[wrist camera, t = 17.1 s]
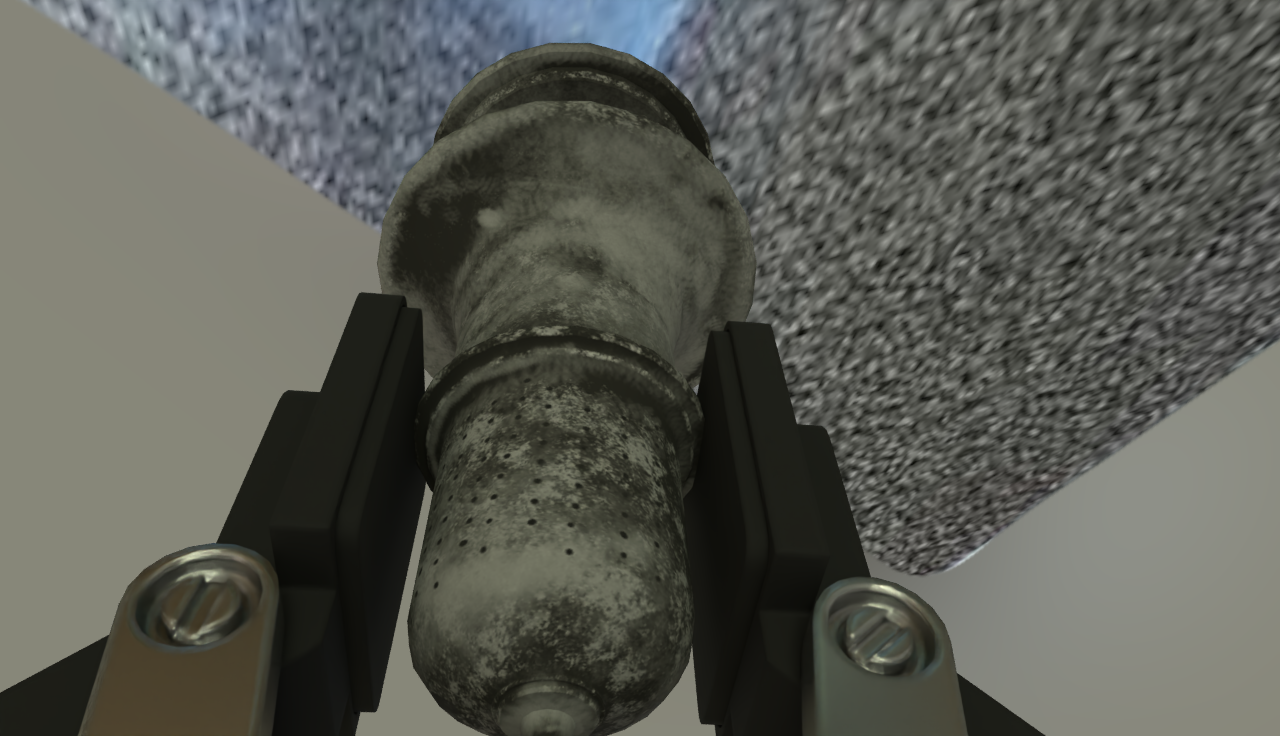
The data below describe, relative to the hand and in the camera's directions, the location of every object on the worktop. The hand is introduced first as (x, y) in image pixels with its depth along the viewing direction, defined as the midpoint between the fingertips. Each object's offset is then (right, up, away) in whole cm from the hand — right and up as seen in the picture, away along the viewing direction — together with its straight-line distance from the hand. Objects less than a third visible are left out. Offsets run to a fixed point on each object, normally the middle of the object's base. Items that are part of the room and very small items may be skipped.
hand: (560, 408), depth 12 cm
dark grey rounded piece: (0, +4, +5) cm, 7 cm away
